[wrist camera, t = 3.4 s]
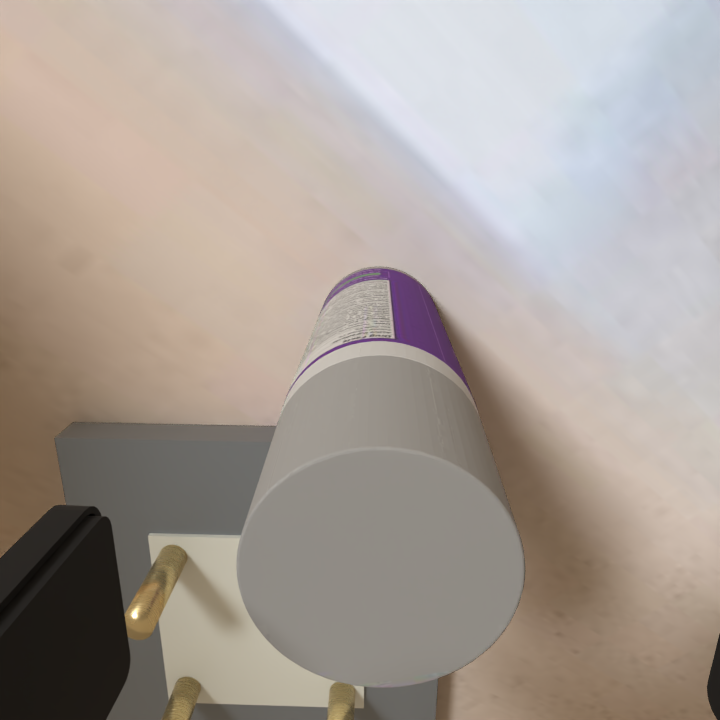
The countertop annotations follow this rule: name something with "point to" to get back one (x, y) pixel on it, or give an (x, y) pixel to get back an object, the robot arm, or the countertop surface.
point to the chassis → (200, 573)
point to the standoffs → (187, 689)
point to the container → (380, 501)
